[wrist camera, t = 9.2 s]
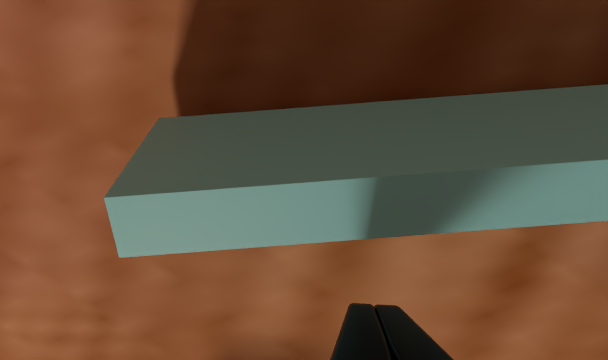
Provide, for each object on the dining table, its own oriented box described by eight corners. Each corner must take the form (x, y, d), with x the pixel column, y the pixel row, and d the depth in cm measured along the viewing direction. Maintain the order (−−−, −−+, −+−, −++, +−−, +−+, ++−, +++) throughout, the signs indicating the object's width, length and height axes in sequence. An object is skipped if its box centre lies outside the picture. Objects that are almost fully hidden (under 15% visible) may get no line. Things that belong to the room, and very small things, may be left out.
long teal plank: (754, 73, 13) (958, 132, 9) (740, 120, 13) (928, 196, 9) (158, 118, 13) (104, 198, 9) (167, 163, 13) (119, 257, 9)
